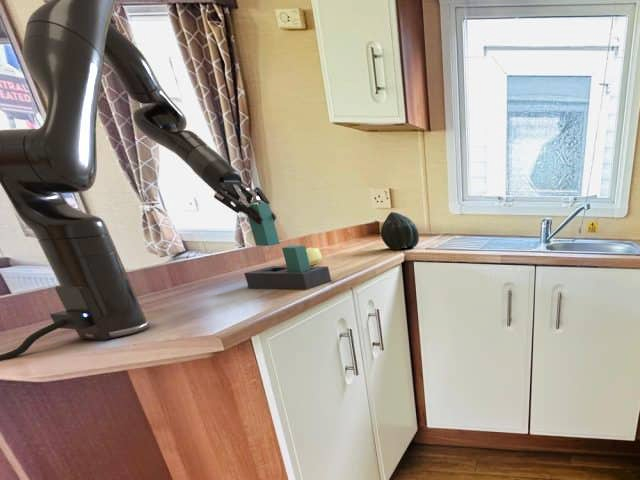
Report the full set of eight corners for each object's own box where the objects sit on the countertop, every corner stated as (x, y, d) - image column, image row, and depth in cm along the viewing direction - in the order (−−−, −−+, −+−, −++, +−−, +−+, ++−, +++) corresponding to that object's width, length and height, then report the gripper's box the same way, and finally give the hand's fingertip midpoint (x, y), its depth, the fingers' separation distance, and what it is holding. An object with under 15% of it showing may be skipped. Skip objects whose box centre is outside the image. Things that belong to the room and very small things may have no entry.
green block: (268, 245, 110) (257, 204, 106) (256, 245, 111) (244, 204, 107) (279, 243, 114) (269, 203, 109) (267, 243, 114) (256, 203, 110)
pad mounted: (304, 286, 113) (294, 247, 108) (291, 286, 114) (281, 247, 109) (314, 283, 116) (305, 245, 112) (301, 283, 117) (292, 245, 113)
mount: (306, 289, 109) (302, 273, 107) (248, 288, 113) (244, 273, 112) (331, 280, 118) (328, 266, 116) (276, 280, 122) (272, 266, 121)
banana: (329, 240, 147) (284, 256, 132) (336, 255, 150) (293, 273, 134) (304, 249, 154) (258, 266, 138) (312, 264, 156) (268, 282, 141)
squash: (422, 235, 168) (412, 204, 172) (384, 240, 164) (375, 208, 167) (421, 256, 181) (412, 227, 185) (386, 261, 177) (377, 231, 180)
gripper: (193, 157, 99) (251, 211, 101) (242, 159, 111) (292, 207, 114) (184, 182, 102) (240, 234, 105) (232, 182, 115) (281, 228, 117)
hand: (267, 220), depth 109 cm, fingers closed on green block, 4 cm apart
